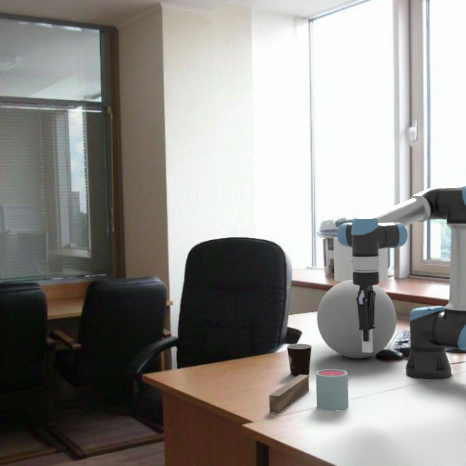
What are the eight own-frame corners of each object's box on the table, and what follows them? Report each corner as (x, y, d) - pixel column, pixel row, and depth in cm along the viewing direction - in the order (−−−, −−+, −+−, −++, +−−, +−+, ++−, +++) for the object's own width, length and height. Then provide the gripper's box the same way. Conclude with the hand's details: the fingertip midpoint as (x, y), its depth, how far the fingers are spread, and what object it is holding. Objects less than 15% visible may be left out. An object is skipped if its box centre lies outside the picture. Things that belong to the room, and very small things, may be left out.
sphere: (314, 350, 290) (313, 276, 289) (389, 348, 289) (387, 274, 288) (321, 367, 260) (319, 285, 259) (404, 365, 259) (402, 283, 258)
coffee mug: (311, 377, 245) (310, 348, 245) (286, 377, 247) (285, 348, 246) (314, 369, 256) (313, 342, 256) (290, 369, 258) (289, 341, 258)
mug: (340, 412, 204) (340, 377, 203) (311, 408, 209) (310, 374, 208) (359, 400, 215) (358, 367, 215) (330, 397, 220) (330, 364, 220)
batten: (309, 390, 228) (308, 375, 228) (279, 413, 205) (278, 396, 205) (300, 389, 230) (299, 374, 229) (269, 412, 206) (269, 395, 206)
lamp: (397, 337, 312) (394, 235, 310) (377, 347, 292) (375, 238, 291) (348, 333, 324) (346, 235, 322) (327, 342, 305) (324, 238, 303)
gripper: (359, 268, 214) (360, 346, 215) (346, 273, 202) (348, 355, 203) (383, 268, 211) (385, 348, 212) (372, 273, 199) (374, 357, 200)
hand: (367, 351), depth 207 cm, fingers closed
